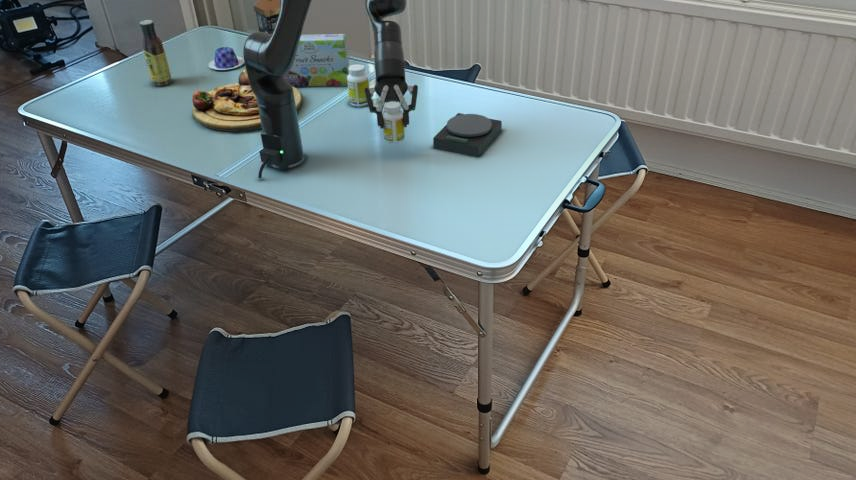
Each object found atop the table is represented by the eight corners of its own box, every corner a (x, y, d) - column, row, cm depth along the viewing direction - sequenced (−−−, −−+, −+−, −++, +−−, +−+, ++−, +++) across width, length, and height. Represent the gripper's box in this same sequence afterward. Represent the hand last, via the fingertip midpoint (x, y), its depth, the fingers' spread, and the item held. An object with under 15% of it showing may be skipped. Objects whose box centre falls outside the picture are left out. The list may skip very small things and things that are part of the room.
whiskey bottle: (276, 71, 237) (258, -31, 217) (261, 63, 243) (243, -37, 224) (303, 63, 242) (288, -38, 222) (288, 55, 248) (272, -44, 229)
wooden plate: (181, 136, 203) (174, 108, 198) (206, 89, 228) (200, 63, 223) (296, 130, 203) (291, 103, 198) (307, 84, 228) (304, 58, 223)
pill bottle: (372, 98, 218) (368, 63, 211) (368, 107, 213) (365, 71, 207) (351, 98, 219) (347, 62, 212) (347, 107, 214) (343, 71, 207)
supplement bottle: (384, 144, 185) (381, 109, 179) (383, 135, 189) (380, 100, 184) (405, 143, 185) (403, 108, 180) (404, 133, 190) (402, 99, 184)
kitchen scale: (478, 157, 188) (478, 142, 185) (433, 147, 192) (432, 133, 190) (501, 130, 199) (501, 116, 196) (458, 122, 204) (458, 108, 201)
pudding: (219, 75, 236) (216, 59, 233) (202, 65, 244) (198, 49, 241) (251, 64, 243) (248, 49, 239) (234, 55, 250) (231, 40, 247)
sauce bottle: (151, 81, 234) (133, 19, 222) (170, 77, 236) (154, 16, 224) (154, 88, 229) (136, 26, 217) (174, 84, 231) (157, 22, 219)
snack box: (281, 88, 226) (273, 40, 217) (284, 81, 231) (276, 34, 222) (349, 86, 226) (344, 38, 217) (351, 79, 230) (346, 32, 221)
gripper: (360, 58, 181) (364, 123, 179) (417, 55, 182) (422, 120, 180) (362, 70, 189) (366, 133, 187) (417, 67, 189) (421, 130, 187)
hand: (393, 126), depth 183 cm, fingers closed on supplement bottle, 5 cm apart
